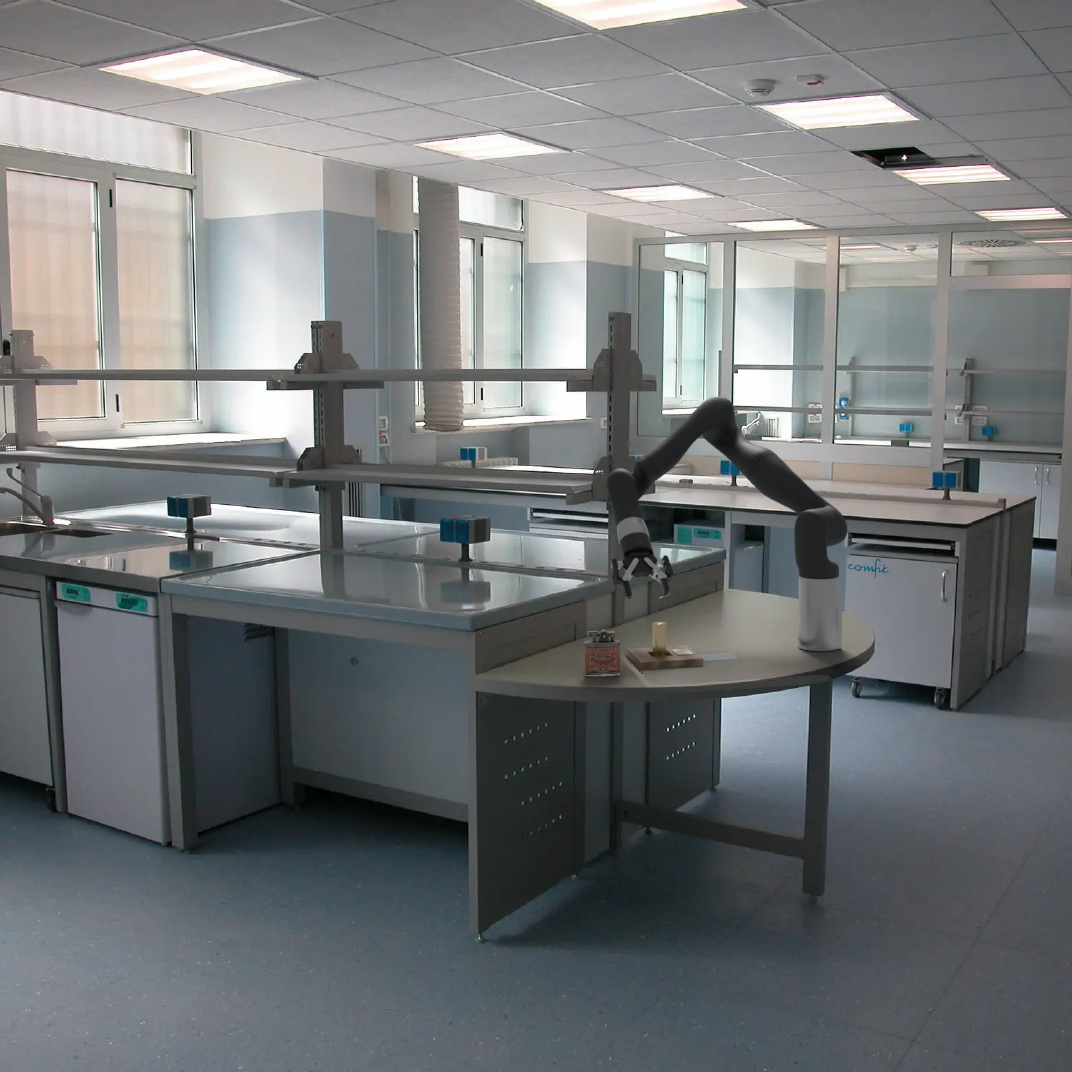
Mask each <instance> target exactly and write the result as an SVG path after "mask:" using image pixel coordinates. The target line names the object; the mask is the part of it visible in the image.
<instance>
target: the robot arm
mask: <svg viewBox="0 0 1072 1072" xmlns="http://www.w3.org/2000/svg"><path fill="white" fill-rule="evenodd" d="M735 414H736V412H735V407H734V404H733V402H732V401H731V400H730V399H729V398H727V397H723V396H713V397H710V398H708V399H706V400H705V401H704V402H702V403H701V404H700V405H699V406H698V407H697V408H696V409H695V410H694V411H693V412H692V413H691V414H690V415H689V416H688V417H687V418H685V420H683V422H681V424H679V426H678V427H677V428H676V429H674V430H673V431H672V433H670V434H669V435H668V436H667V437H666V438H665V439H663V440H662V441H661V442H660V443H659V444H657V445H656V446H655V447H653V448H652V449H650V450H649V451H648V452H646V453H645V454H643V455H642V456H641V457H639V458H638V459H637V460H636V461H635V463H634V466H633V471H632V472H630V471H629V470H627V469H625V468H615V469H614V470H611V472H609V474H608V475H607V478H606V488H607V492H608V493H607V494H608V496H609V501H610V502H611V505H612V509H613V518H614V524H615V526H616V527H615V528H616V533H617V541H618V544H619V549H620V554H621V558H622V560H618V559H617V558H612V559H611V564H610V570H611V577H612V583H613V585H614V586H617V585H620V586H621V587H622V592H623V596H624V597H626V599H628V600H631V599H632V595H633V592H632V588H631V584H630V581H631V579H632V578H633V577H635V578H640V577H646V578H647V577H648V578H649V577H651V578H652V579H653V580H656V581H657V582H658V583H659V587H660V590H661V595H662V597H667V595H668V594H669V591H670V586H669V583H668V582H671V581H672V580H673V578H674V577H673V576H674V571H673V567H672V565H671V561H670V558H669V556H668V555H666V554H665V555H663V556H662V557H659V558H657V557H656V556H655V553H654V550H653V546H652V545H653V544H652V542H651V538H650V537H651V535H650V533H649V530H648V527H647V524H646V523H645V517H644V514H643V511H642V508H641V504H640V502H639V500H640V499H641V498H642V497H643V496H644V495H645V493H646V492H647V491H648V490H649V489H650V487H651V486H652V485H653V484H654V483H655V482H656V481H657V480H659V479H661V478H662V477H663V476H664V475H666V474H667V473H669V472H670V471H672V470H673V468H674V467H676V465H678V464H679V462H680V461H681V460H682V459H683V457H684V456H685V454H686V453H687V452H688V450H689V449H690V448H691V447H692V445H693V444H694V443H695V442H696V441H697V440H698V439H700V437H701V436H702V438H703V439H704V440H705V441H706V442H707V443H708V444H710V445H711V446H712V447H713V448H714V449H716V450H717V451H719V452H720V453H721V454H722V455H723V456H725V457H726V459H728V460H729V461H730V463H732V464H733V465H734V466H735V468H736V469H737V470H738V471H739V472H740V473H742V475H743V476H744V477H745V478H746V479H747V480H748V481H749V483H751V485H753V486H754V487H755V489H756V490H758V492H759V493H761V494H762V495H764V496H765V497H766V498H768V499H770V500H772V501H774V502H775V503H777V504H780V505H782V506H784V507H786V508H788V509H790V510H792V511H793V512H795V513H796V514H797V515H798V516H797V517H796V520H795V522H794V530H793V532H794V533H793V534H794V535H793V536H794V537H793V539H794V557H795V563H796V566H797V570H798V626H797V627H798V628H797V629H798V632H797V633H798V634H797V640H798V641H797V642H798V643H797V644H798V647H799V649H802V650H805V651H810V652H811V651H812V652H829V651H830V652H831V651H835V650H839V649H843V648H842V647H843V646H842V645H843V642H842V638H843V637H842V632H843V631H842V630H843V629H842V627H843V623H842V622H843V609H842V608H841V607H839V601H840V600H839V598H840V597H839V595H840V589H839V587H840V567H839V564H838V563H836V562H834V561H831V560H830V559H829V557H828V548H829V547H832V546H833V547H834V546H836V545H838V544H841V543H842V542H843V541H844V540H845V539H846V537H847V534H848V524H847V521H846V519H845V517H844V516H843V514H842V512H841V511H839V510H838V508H836V507H835V506H834V505H832V504H831V503H829V501H827V500H826V499H824V498H823V497H822V496H821V495H819V494H818V493H817V492H815V491H814V490H813V489H812V488H811V487H810V486H809V485H808V484H807V483H806V482H805V481H804V480H802V478H801V477H799V475H798V474H797V473H795V472H794V471H793V470H792V469H791V468H790V467H789V465H788V464H786V462H785V461H783V459H782V458H781V457H780V456H778V455H777V454H776V453H775V452H774V451H772V450H771V449H770V448H767V447H765V446H761V445H757V444H754V443H753V442H752V441H750V440H748V438H747V437H746V436H744V434H743V433H742V432H741V431H740V429H739V428H738V426H737V424H736V415H735ZM658 565H659V566H660V567H658ZM621 567H622V568H623V569H624V570H625V571H626V572H625V574H624V575H623V576H621V575H620V569H621ZM661 569H663V571H662V570H661Z"/></svg>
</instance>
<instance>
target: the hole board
mask: <svg viewBox="0 0 1072 1072" xmlns="http://www.w3.org/2000/svg"><path fill="white" fill-rule="evenodd" d="M626 651H627V653H626V654H627V657H628V658H627V660H628V661H629V662H630V663H631V664H633V666H634V667H635V668H636V669H637V670H638V671H639V672H641V674H644V673H643V672H642V671H641V670H650V669H651V670H652V669H666V668H668V669H669V668H685V667H699V666H704V660H703V658H702V657H701V656H699V655H700V654H698V653H697V652H695V651H694V650H693V649H692V648H690V647H689V646H688V645H686V644H685V645H683V644H682V645H669V646H668V645H667V656H661V657H653V646H652V647H638V648H637V647H636V648H627V649H626ZM628 661H627V662H628ZM637 666H638V667H637Z"/></svg>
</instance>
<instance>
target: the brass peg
mask: <svg viewBox="0 0 1072 1072" xmlns="http://www.w3.org/2000/svg"><path fill="white" fill-rule="evenodd" d="M667 625H668V623H667V622H666V621H654V622H652V647H653V657H661V656H667V646H668V632H667V631H668V626H667Z"/></svg>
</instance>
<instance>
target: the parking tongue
mask: <svg viewBox="0 0 1072 1072" xmlns="http://www.w3.org/2000/svg"><path fill="white" fill-rule="evenodd" d="M698 655H699V656H701V657H702V658H703V662H713V661H726V660H727V661H728V660H729V661H730V660H740V657H739V658H738V657H737V655H735V654H734V653H732V652H719V653H705V654H704V653H703V654H701V653H700V654H698Z"/></svg>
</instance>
